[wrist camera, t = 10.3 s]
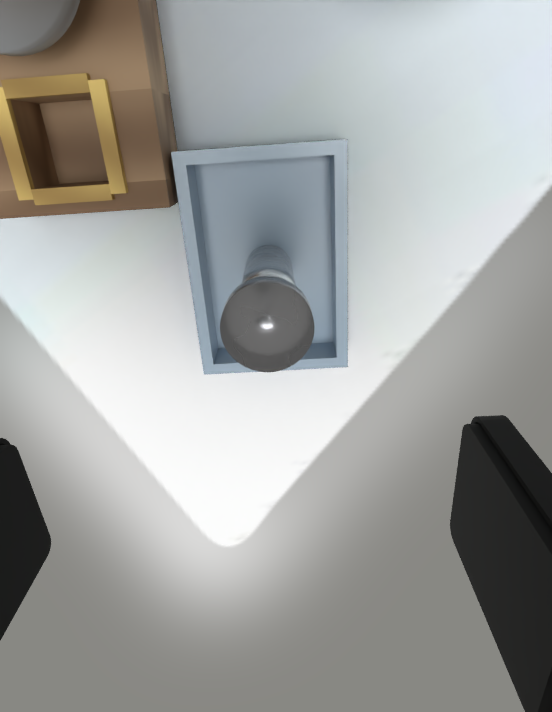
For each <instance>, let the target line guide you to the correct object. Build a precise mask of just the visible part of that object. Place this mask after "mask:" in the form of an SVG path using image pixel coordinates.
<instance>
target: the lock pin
mask: <svg viewBox="0 0 552 712" xmlns="http://www.w3.org/2000/svg"><path fill="white" fill-rule="evenodd" d="M314 328H315V326H314V319H313V315H312V311H311V307H310V304H309V302H308V300H307V298H306V296H305V295H304V293H303V292H302V291H301V290H300V289H299V288H298V287H297V286H296V285H295V279H294V273H293V268H292V263H291V260H290V257H289V256H288V254H287V253H286V252H285V251H284V250H283V249H281V248H279V247H277V246H274V245H264V246H261V247H258V248H257V249H255V250H254V251H253V252H252V253H251V254H250V255H249V257H248V259H247V262H246V266H245V271H244V275H243V279H242V283H241V284H240V285H239V286H238V287H237V288H236V289H235V290H234V291H233V292H232V293H231V294H230V296H229V297H228V299H227V301H226V304H225V306H224V309H223V313H222V316H221V320H220V334H221V339H222V342H223V345H224V347H225V348H226V350H227V352H228V353H229V354H230V355H231V357H232V358H233V359H234V360H236V361H237V362H238V363H239V364H241V365H243V366H244V367H246V368H249V369H252V370H255V371H260V372H275V371H280V370H283V369H286V368H288V367H290V366H292V365H294V364H295V363H297V362H298V361H299V360H300V359H301V358H302V357H303V356H304V355H305V354H306V353H307V351H308V350H309V348H310V346H311V344H312V341H313V337H314Z"/></svg>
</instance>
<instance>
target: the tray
mask: <svg viewBox="0 0 552 712" xmlns="http://www.w3.org/2000/svg"><path fill="white" fill-rule="evenodd" d="M171 155H172V162H173V169H174V176H175V182H176V189H177V196H178V202H179V209H180V216H181V223H182V229H183V236H184V243H185V250H186V256H187V263H188V270H189V276H190V283H191V290H192V297H193V303H194V310H195V317H196V323H197V330H198V337H199V344H200V350H201V357H202V364H203V371H204V374H221V373H240V372H260V371H255V370H252V369H249V368H246V367H244V366H243V365H241V364H239V363H238V362H237V361H236V360H234V359H233V358H232V357H231V355H230V354H229V353H228V352H227V350H226V348H225V347H224V345H223V342H222V339H221V334H220V320H221V316H222V313H223V309H224V306H225V304H226V301H227V299H228V297H229V296H230V294H231V293H232V292H233V291H234V290H235V289H236V288H237V287H238V286H239V285H240V284H241V283H242V279H243V275H244V271H245V266H246V262H247V259H248V257H249V255H250V254H251V253H252V252H253V251H254V250H255V249H257V248H258V247H261V246H264V245H274V246H277V247H279V248H281V249H283V250H284V251H285V252H286V253H287V254H288V256H289V257H290V260H291V263H292V268H293V273H294V279H295V285H296V286H297V287H298V288H299V289H300V290H301V291H302V292H303V293H304V295H305V296H306V298H307V300H308V302H309V304H310V307H311V311H312V315H313V319H314V326H315V328H314V337H313V341H312V344H311V346H310V348H309V350H308V351H307V353H306V354H305V355H304V356H303V357H302V358H301V359H300V360H299V361H298V362H297V363H295V364H294V365H292V366H290V367H288V368H286V369H283V370H298V369H317V368H336V367H348V139H338V140H324V141H311V142H297V143H283V144H269V145H256V146H242V147H228V148H214V149H200V150H187V151H176V152H171Z"/></svg>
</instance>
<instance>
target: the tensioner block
mask: <svg viewBox="0 0 552 712" xmlns="http://www.w3.org/2000/svg"><path fill="white" fill-rule="evenodd" d="M176 151H177V144H176V137H175V130H174V123H173V116H172V109H171V102H170V95H169V88H168V81H167V74H166V67H165V60H164V53H163V46H162V39H161V32H160V25H159V18H158V11H157V4H156V0H0V219H3V218H18V217H32V216H47V215H62V214H77V213H92V212H106V211H121V210H136V209H151V208H166V207H171V206H173V205H175V204H176V203H178V196H177V189H176V182H175V176H174V169H173V162H172V155H171V152H176Z"/></svg>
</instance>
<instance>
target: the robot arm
mask: <svg viewBox="0 0 552 712" xmlns="http://www.w3.org/2000/svg"><path fill="white" fill-rule="evenodd" d="M450 529H451V535H452V538H453V541H454V544H455V546H456V548H457V551H458V553H459V556H460V558H461V561H462V563H463V565H464V568H465V570H466V572H467V575H468V577H469V580H470V582H471V584H472V586H473V589H474V592H475V594H476V596H477V599H478V601H479V603H480V606H481V608H482V611H483V613H484V615H485V617H486V620H487V622H488V625H489V627H490V630H491V632H492V634H493V637H494V639H495V642H496V643H497V646H498V649H499V651H500V653H501V656H502V658H503V660H504V663H505V665H506V668H507V670H508V672H509V675H510V677H511V679H512V682H513V684H514V686H515V689H516V691H517V694H518V696H519V699H520V701H521V703H522V706H523V708H524V710H525V712H552V473H551V472H550V471H549V469H548V468H547V467H546V466H545V464H544V463H543V462H542V460H541V459H540V458H539V457H538V456H537V454H536V453H535V452H534V451H533V449H532V448H531V447H530V445H529V444H528V443H527V442H526V440H525V439H524V438H523V437H522V435H521V434H520V433H519V432H518V430H517V429H516V428H515V427H514V425H513V424H512V423H511V422H510V420H509V419H508V418H507V417H506V416H503V415H500V416H478V417H474V418H473V420H472V422H471V424H466V425H464V427H463V430H462V438H461V445H460V453H459V460H458V468H457V475H456V482H455V491H454V497H453V505H452V512H451V520H450ZM50 547H51V538H50V534H49V532H48V529H47V526H46V524H45V521H44V518H43V516H42V513H41V511H40V508H39V505H38V502H37V500H36V497H35V494H34V492H33V489H32V486H31V484H30V481H29V478H28V476H27V473H26V471H25V468H24V465H23V462H22V460H21V457H20V454H19V452H18V450H17V448H16V447H15V446H14V445H10V443H9V442H8V441H7V440H6V439H3V438H0V640H1V638H2V637H3V635H4V633H5V631H6V629H7V628H8V626H9V624H10V622H11V621H12V619H13V617H14V615H15V613H16V612H17V610H18V608H19V606H20V604H21V602H22V601H23V599H24V597H25V595H26V594H27V592H28V590H29V588H30V586H31V585H32V583H33V581H34V579H35V578H36V576H37V574H38V572H39V570H40V569H41V567H42V565H43V563H44V561H45V560H46V558H47V556H48V554H49V551H50Z"/></svg>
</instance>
